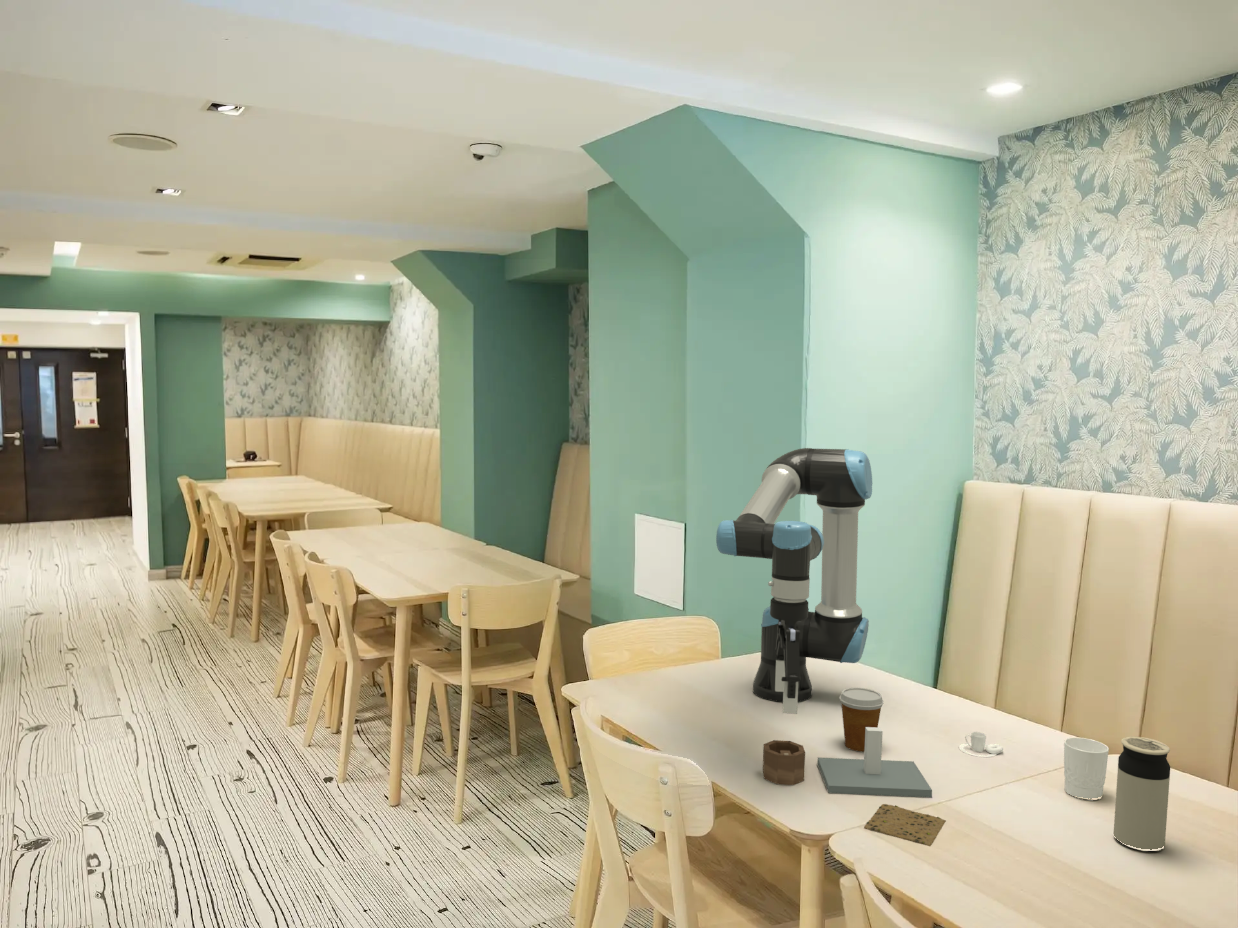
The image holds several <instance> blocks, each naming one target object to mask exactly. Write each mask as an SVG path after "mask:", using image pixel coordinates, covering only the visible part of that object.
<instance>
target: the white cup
mask: <svg viewBox="0 0 1238 928" xmlns="http://www.w3.org/2000/svg"><path fill="white" fill-rule="evenodd" d="M1063 746H1064V747H1063V749H1064V750H1063V757H1064V758H1063V775H1064V791H1065V793H1066V792H1067V793H1066V794H1067V795H1069V794H1070V795H1069V796H1071V795H1072V796H1071V797H1073V796H1077V797H1083V798H1088V799H1089V798H1090V799H1092V798H1098V797H1101V796H1102V795H1103V796H1104V787H1105V786H1104V785H1105V783H1106V775H1107V767H1108V758H1109V750H1110V749H1109V746H1108V745H1106V744H1104V743H1103V742H1101V741H1098V740H1094V739H1091V738H1085V737H1078V736H1077V737H1068V738H1065V740H1064V741H1063ZM1103 796H1102V797H1103Z"/></svg>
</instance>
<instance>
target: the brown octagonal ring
mask: <svg viewBox="0 0 1238 928" xmlns="http://www.w3.org/2000/svg"><path fill="white" fill-rule="evenodd" d="M762 750H763V751H762V776H763V779H764V780H766V781H768V782H770V783H773V784H775V785H782V786H795V785H797V784H800V783H802V782H804V781H805V770H806V769H805V767H806V751H805V748H804V745H803V744H799V743H796V742H794V741H791V740H778V739H777V740H776V739H774V740H770V741H769V742H768V741H767V742H765V743H763V747H762Z"/></svg>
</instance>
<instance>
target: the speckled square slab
mask: <svg viewBox="0 0 1238 928" xmlns="http://www.w3.org/2000/svg"><path fill="white" fill-rule="evenodd" d="M946 822H947V820H945V819H943V818H941V817H939V816H937V817H936V816H934V815H931V814H925V813H921V812H919V811H913V810H910V809H907V808H904V807H900V806H899V805H892V804H887V803H883V804H881V806H878V809H876V811H875V813H874V814H873V815H872V817H871V818H870V819H869V820H868V821H867V822H866V824H865V825H864V826H863V829H865V830H868V831H871V832H876V833H879V834H883V835H887V836H890V837H895V838H897V839H900V840H901V839H902V840H904V841H908V842H912V843H915V844H916V843H917V844H921V845H923V846H928V847H932V845H933V844H934V842H935V840H936V839H937V837H938V835H939V834H940V832H941V830H942V828H943V827H944V825H945V823H946Z"/></svg>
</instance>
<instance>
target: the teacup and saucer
mask: <svg viewBox="0 0 1238 928" xmlns="http://www.w3.org/2000/svg"><path fill="white" fill-rule="evenodd" d="M967 736H969V737H970V742H968V740H967ZM964 738H965V742H966V743H962V744H959V746H958V748H959V751H960V752H962V753H964V754H966V755H969V756H973V757H979V758H992V757H993V758H994V757H995V756H997V755H998V754H1002V752H1003V751H1004V747H1003V746H1002V745H1001V744H998V743H997V744H995V743H990V744H986V742H987V741H986V739H987V734H985V733H983V732H980V731H972V732H970V734H969V733H967V734H965V736H964ZM967 746H969V748H971V749H972V751H974V752H976V753H984V750H985V751H986V752H987V753H988V754H989V755H988V754H987V755H982V754H981V755H980V754H974V753H971V752H969V751H967V750H966V749H965V747H967Z"/></svg>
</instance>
